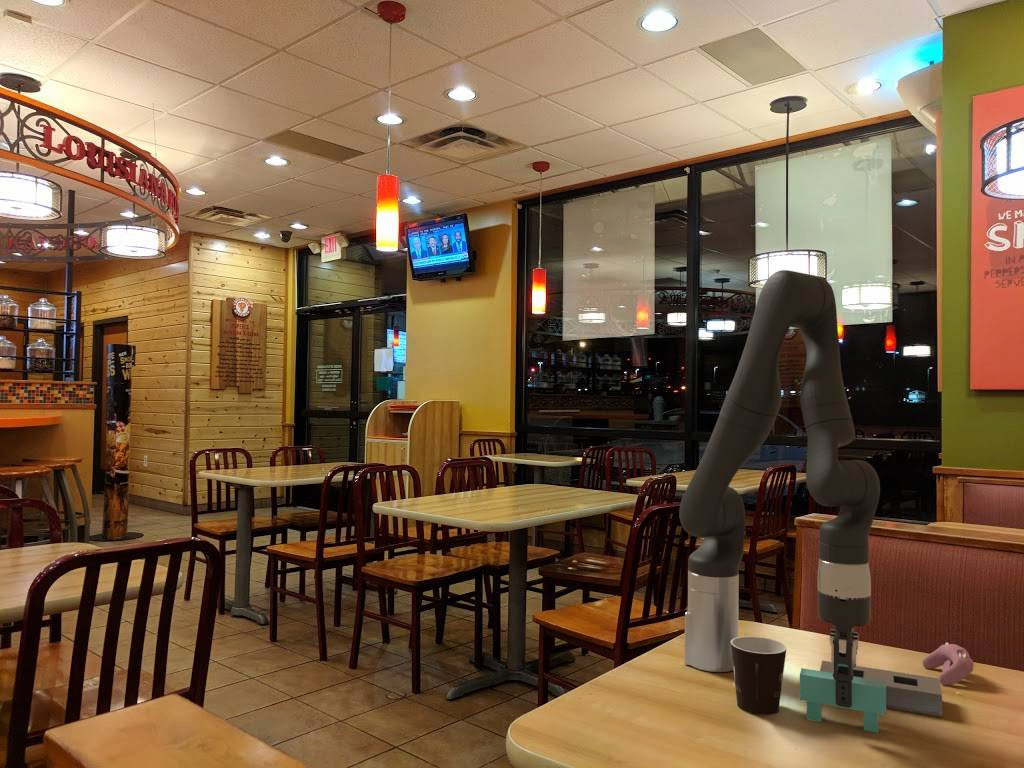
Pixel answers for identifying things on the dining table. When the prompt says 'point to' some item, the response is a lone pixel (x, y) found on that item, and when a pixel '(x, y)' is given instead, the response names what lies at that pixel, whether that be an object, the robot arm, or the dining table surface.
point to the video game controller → (950, 663)
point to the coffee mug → (758, 673)
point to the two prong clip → (822, 691)
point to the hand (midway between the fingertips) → (844, 696)
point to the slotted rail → (903, 689)
